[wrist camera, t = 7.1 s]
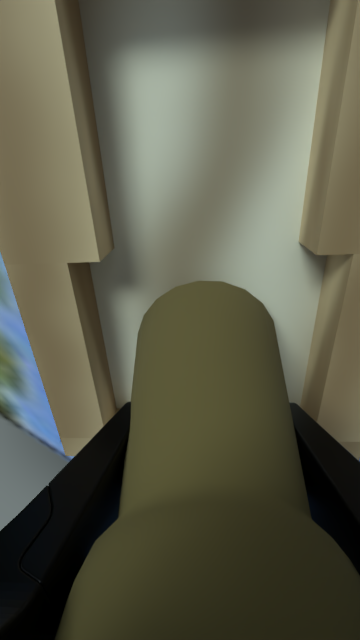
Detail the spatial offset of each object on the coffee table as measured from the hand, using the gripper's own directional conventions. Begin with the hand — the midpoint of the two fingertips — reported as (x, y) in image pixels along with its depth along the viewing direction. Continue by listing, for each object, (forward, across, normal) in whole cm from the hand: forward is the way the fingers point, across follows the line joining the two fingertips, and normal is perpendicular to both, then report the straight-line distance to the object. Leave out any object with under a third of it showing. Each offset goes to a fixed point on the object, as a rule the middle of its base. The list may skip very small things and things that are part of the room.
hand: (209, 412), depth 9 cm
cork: (+4, 0, 0) cm, 4 cm away
